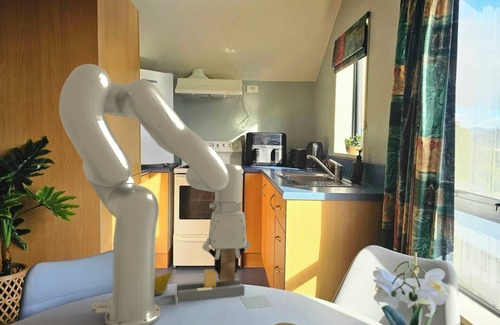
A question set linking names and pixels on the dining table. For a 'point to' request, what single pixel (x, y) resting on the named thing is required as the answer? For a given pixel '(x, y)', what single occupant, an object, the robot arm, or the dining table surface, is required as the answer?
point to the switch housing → (208, 290)
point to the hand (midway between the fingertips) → (226, 271)
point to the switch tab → (210, 278)
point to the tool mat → (256, 302)
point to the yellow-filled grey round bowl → (161, 283)
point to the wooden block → (227, 265)
